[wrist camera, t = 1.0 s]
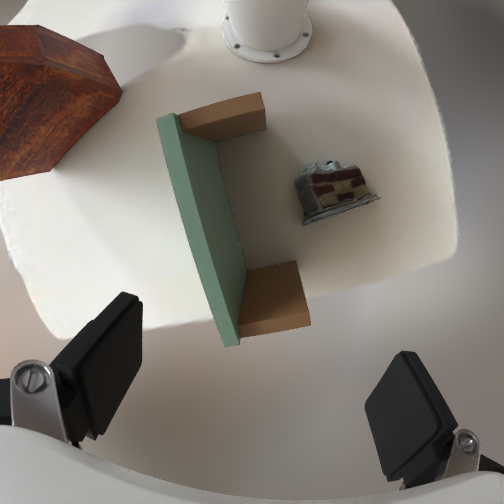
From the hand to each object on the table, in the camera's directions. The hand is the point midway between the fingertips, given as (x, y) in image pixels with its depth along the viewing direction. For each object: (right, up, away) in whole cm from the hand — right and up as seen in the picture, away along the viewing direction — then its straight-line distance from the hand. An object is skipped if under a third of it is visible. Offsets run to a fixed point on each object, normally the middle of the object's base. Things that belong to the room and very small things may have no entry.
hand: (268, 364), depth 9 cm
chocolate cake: (+10, +13, +27) cm, 32 cm away
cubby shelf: (0, +10, +28) cm, 30 cm away
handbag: (-30, +27, +25) cm, 47 cm away
